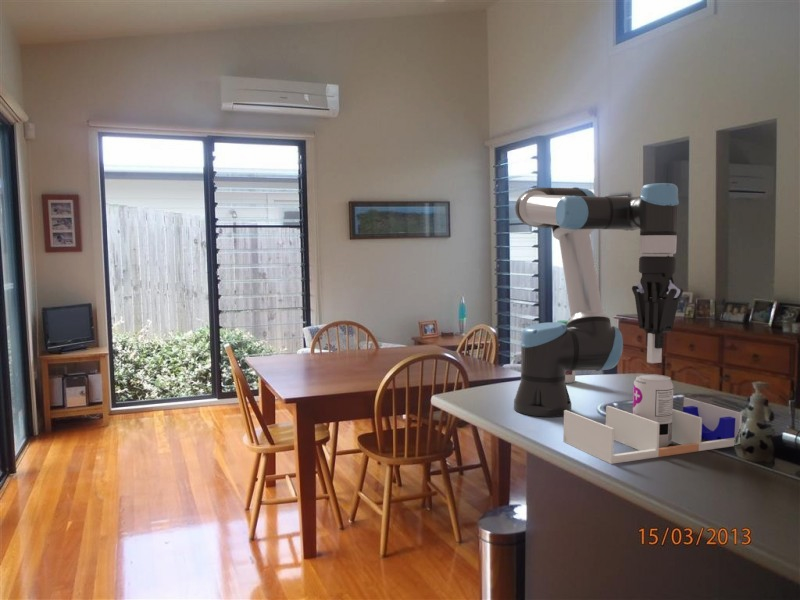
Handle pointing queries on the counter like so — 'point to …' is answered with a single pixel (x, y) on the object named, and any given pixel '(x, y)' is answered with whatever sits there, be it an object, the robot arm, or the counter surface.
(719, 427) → the blue notched cradle block
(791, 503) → the counter surface
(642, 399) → the supplement can
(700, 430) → the can rack
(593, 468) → the counter surface
